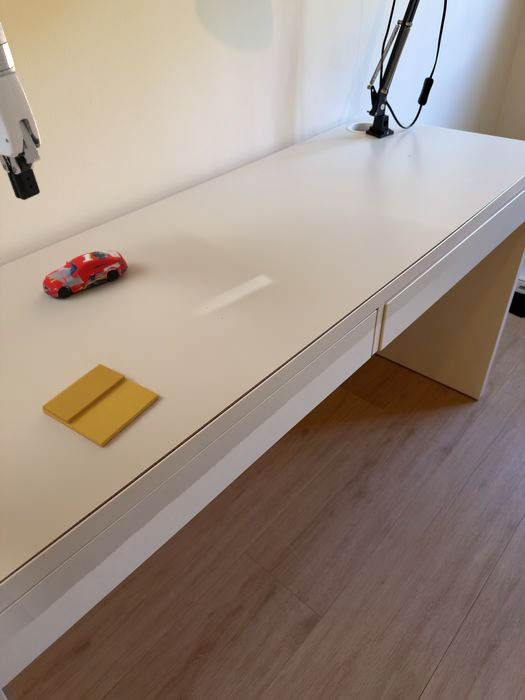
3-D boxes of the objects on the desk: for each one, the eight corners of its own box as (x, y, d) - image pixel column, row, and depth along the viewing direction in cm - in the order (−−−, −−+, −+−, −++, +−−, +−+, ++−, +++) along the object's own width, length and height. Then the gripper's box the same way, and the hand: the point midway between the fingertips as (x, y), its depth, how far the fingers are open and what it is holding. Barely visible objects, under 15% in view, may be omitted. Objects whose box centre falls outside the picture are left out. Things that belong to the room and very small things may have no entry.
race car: (51, 304, 79) (42, 281, 77) (41, 288, 83) (32, 266, 80) (132, 275, 84) (127, 253, 82) (120, 262, 88) (114, 240, 85)
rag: (101, 447, 57) (99, 441, 56) (42, 412, 61) (40, 405, 61) (159, 397, 62) (157, 391, 62) (101, 368, 67) (99, 362, 66)
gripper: (-77, 62, 70) (-22, 195, 81) (-10, 72, 63) (39, 215, 74) (-26, 51, 74) (19, 178, 86) (41, 59, 67) (80, 196, 79)
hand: (28, 195), depth 80 cm, fingers closed
